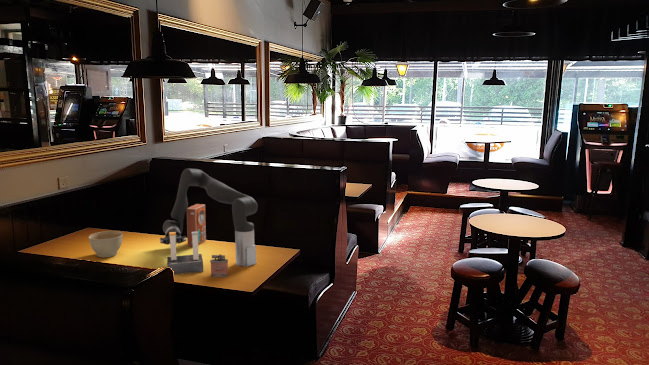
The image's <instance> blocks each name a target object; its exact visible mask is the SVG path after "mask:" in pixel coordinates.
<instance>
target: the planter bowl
mask: <svg viewBox="0 0 649 365" xmlns="http://www.w3.org/2000/svg"><path fill="white" fill-rule="evenodd" d="M88 240H89V244H90V247H91V249H92V250H93V252H94V253H95V254H96V256H97V257H98V258H110V257H111V258H112V257H113V256H114V257H115V256H116V255H117V254H118V252H119V250H120V248H121V246H122V244H123V243H122V242H123V232H121V231H116V230H115V231H114V230H107V231H100V232H94V233H91V234H90V235H89V236H88Z"/></svg>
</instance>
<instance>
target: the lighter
mask: <svg viewBox="0 0 649 365" xmlns="http://www.w3.org/2000/svg"><path fill="white" fill-rule="evenodd" d="M209 262H210V277H212V278H227V277H229V276H230V275H229V267H228V266H229V264H228V262H229V260H228V258H226V255H225V254H224V255H223V254H218V255H217V254H211V259H210V260H209Z"/></svg>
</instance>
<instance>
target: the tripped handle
mask: <svg viewBox="0 0 649 365" xmlns="http://www.w3.org/2000/svg"><path fill="white" fill-rule="evenodd" d="M175 235H176V232H169V236H170V244H169V245H170V257H171V260H177V258H176V256H177V244H176V239H175Z"/></svg>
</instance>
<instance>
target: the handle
mask: <svg viewBox="0 0 649 365" xmlns="http://www.w3.org/2000/svg"><path fill="white" fill-rule="evenodd" d="M192 242H193V246H192V255H193V260H198V259H199V254H200V253H199V245H198V231H196V232H192Z"/></svg>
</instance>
